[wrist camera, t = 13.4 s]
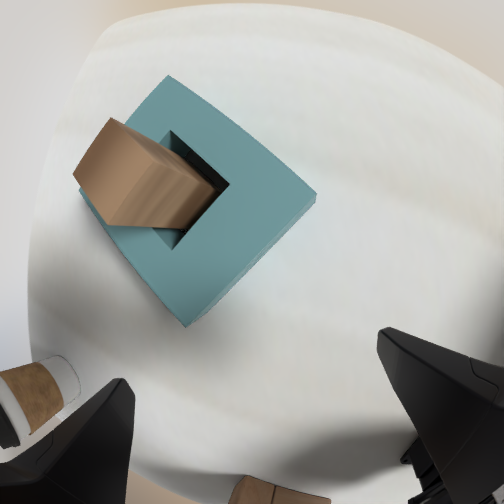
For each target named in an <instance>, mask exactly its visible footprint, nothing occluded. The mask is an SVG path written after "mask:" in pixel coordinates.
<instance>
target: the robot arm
mask: <svg viewBox="0 0 504 504" xmlns="http://www.w3.org/2000/svg"><path fill="white" fill-rule="evenodd" d="M377 353H378V356H379V358H380V360H381V362H382V365H383V367H384V369H385V371H386V374H387V376H388V378H389V381H390V383H391V385H392V387H393V389H394V391H395V393H396V394H397V396H398V398H399V400H400V401H401V403H402V405H403V407H404V408H405V410H406V412H407V414H408V415H409V417H410V419H411V421H412V423H413V424H414V426H415V428H416V430H417V432H418V433H419V435H420V436H419V438H418V439H417V440H416V441H415V443H414V444H413V445H412V446H411V447H410V449H409V450H408V451H407V452H406V453H405V454H404V456H403V457H402V458H401V459H400V461H401V463H402V464H412V466H413V469H414V472H415V475H416V478H419V481H420V484H421V487H422V490H423V492H422V493H420V494H419V495H417V496H415V497H412V498H411V499H409V500H408V504H504V367H500V366H496V365H492V364H489V363H486V362H483V361H480V360H477V359H474V358H471V357H470V358H469V357H468V356H466V355H463V354H460V353H458V352H455V351H452V350H450V349H447V348H444V347H441V346H439V345H436V344H433V343H431V342H428V341H426V340H423V339H420V338H418V337H415V336H412V335H410V334H407V333H405V332H402V331H399V330H397V329H394V328H392V327H387V328H384V329H381V330H379V332H378V339H377ZM134 413H135V394H134V392H133V391H132V389H131V388H130V386H129V384H128V383H127V381H126V380H125V379H123V378H115V379H113V380H112V381H110V382H109V383H108V384H107V385H106V386H105V387H103V388H102V389H101V390H100V391H99V392H97V393H96V394H95V395H94V396H93V397H92V398H90V399H89V400H88V401H87V402H86V403H84V404H83V405H82V406H81V407H80V408H78V409H77V410H76V411H75V412H74V413H72V414H71V415H70V416H69V417H68V418H67V419H65V420H64V421H63V422H62V423H61V424H60V425H58V426H57V427H56V428H55V429H54V430H52V431H51V432H50V433H49V434H47V435H46V436H45V437H44V438H42V439H41V440H40V441H39V442H37V443H36V444H34V445H33V446H32V447H30V448H29V449H27V450H26V451H25V452H23V453H21V454H20V455H18V456H17V457H15V458H14V459H12V460H10V461H8V462H5V463H0V504H125V497H126V485H127V477H128V468H129V460H130V453H131V446H132V439H133V431H134Z"/></svg>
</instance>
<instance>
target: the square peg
mask: <svg viewBox="0 0 504 504" xmlns="http://www.w3.org/2000/svg"><path fill="white" fill-rule="evenodd" d="M73 175H74V177H75V179H76V180H77V182H78V183H79V185H80V186H81V188H82V189H83V191H84V192H85V194H86V195H87V197H88V198H89V200H90V201H91V202H92V204H93V205H94V207H95V208H96V210H97V211H98V212H99V214H100V215H101V217H102V218H103V219H104V221H105V222H106V224H107V225H118V226H140V227H160V228H179V229H191V228H192V227H193V225H194V224H195V223H196V222H197V221H198V220H199V219H200V217H201V216H202V215H203V214H204V213H205V212H206V211H207V210H208V208H209V207H210V206H211V205H212V204H213V203H214V202H215V201H216V199H217V198H218V197H219V196H220V195H221V194H222V193H223V191H222V190H220V189H219V188H218V187H217V186H216V185H215V184H214V183H213V182H212V181H211V180H210V179H209V178H208V177H207V176H206V175H204V174H203V173H202V172H201V171H200V170H199V169H198V168H197V167H196V166H195V165H194V164H193V163H191V162H190V161H188V160H186V159H185V158H183V157H181V156H179V155H178V154H176V153H174V152H173V151H171V150H169V149H167V148H166V147H164V146H162V145H160V144H159V143H157V142H155V141H153V140H151V139H150V138H148V137H146V136H144V135H142V134H141V133H139V132H137V131H135V130H133V129H132V128H130V127H128V126H126V125H124V124H122V123H120V122H119V121H117V120H115V119H113V118H110V119H109V120H108V122H107V123H106V124H105V126H104V127H103V128H102V130H101V131H100V132H99V134H98V135H97V137H96V138H95V140H94V141H93V143H92V144H91V145H90V147H89V148H88V150H87V152H86V153H85V155H84V156H83V158H82V159H81V161H80V163H79V164H78V166H77V167H76V169H75V171H74V172H73Z"/></svg>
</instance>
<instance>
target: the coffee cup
mask: <svg viewBox="0 0 504 504" xmlns="http://www.w3.org/2000/svg"><path fill="white" fill-rule="evenodd" d="M80 391H81V388H80V383H79V380H78V377H77V375H76V373H75V371H74V370H73V368H72V367H71V365H70V364H69V363H68V362H67V361H66V360H65V359H64V358H62V357H60V356H54V357H51V358H48V359H45V360H42V361H39V362H34V363H31V364H27V365H23V366H20V367H16V368H12V369H9V370H5V371H2V372H0V446H1V447H2V448H3V449H6V448H9V447H12V446H13V447H17V446H20V441H21V440H22V439H23V438H24V437H26V436H27V435H31V434H33V433H34V432H35V431H36V430H37V429H39V428H40V427H41V426H42V425H43V424H45V423H46V422H47V421H48V420H49V419H51V418H52V417H53V416H54V415H55V414H57V413H58V412H59V411H60V410H61V409H62V408H63V407H65V406H66V405H67V404H69V403H70V402H71V401H72V400H74V399H75V398H76V397H77V396H78V395H79V394H80Z"/></svg>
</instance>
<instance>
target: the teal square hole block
mask: <svg viewBox="0 0 504 504" xmlns="http://www.w3.org/2000/svg"><path fill="white" fill-rule="evenodd" d="M124 125H126V126H128V127H130V128H132V129H133V130H135V131H137V132H139V133H141V134H142V135H144V136H146V137H148V138H150V139H151V140H153V141H155V142H157V143H159V144H160V145H162V146H164V147H166V148H167V149H169V150H171V151H173V152H174V153H176V154H178V155H179V156H181V157H183V158H184V157H185V156H186V155H187V153H188V152H189V151H190V150H191V149H193V150H194V151H195V152H196V153H197V154H198V155H199V156H200V157H201V158H203V159H204V160H205V161H206V162H207V163H208V164H209V165H210V166H211V167H212V168H213V169H215V170H216V171H217V172H218V173H219V174H220V175H221V176H222V177H223V178H224V179H225V180H226V181H227V182H228V183H230V185H229V186H228V187H227V189H226V190H225V191H224V192H223V193H222V194H221V195H220V196H219V197H218V198H217V199H216V201H215V202H214V203H213V204H212V205H211V206H210V207H209V208H208V210H207V211H206V212H205V213H204V214H203V215H202V216H201V217H200V219H199V220H198V221H197V222H196V223H195V224H194V225H193V227H192V228H191V229H190V230H189V231H188V232H187V234H186V235H184V234H183V233H182V232H181V231H180V229H179V228H160V227H140V226H118V225H107V224H106V222H105V221H104V219H103V218H102V217H101V215H100V214H99V212H98V211H97V210H96V208H95V207H94V205H93V204H92V202H91V201H90V200H89V198H88V197H87V195H86V194H85V192H84V191H83V189H82V188H81V187H80V189H79V192H80V193H81V195H82V196H83V198H84V199H85V201H86V203H87V204H88V206H89V207H90V208H91V210H92V211H93V213H94V214H95V216H96V217H97V219H98V220H99V222H100V223H101V224H102V226H103V227H104V229H105V230H106V231H107V233H108V234H109V236H110V237H111V238H112V240H113V241H114V242H115V244H116V245H117V246H118V248H119V249H120V250H121V252H122V253H123V254H124V256H125V257H126V258H127V260H128V261H129V262H130V263H131V265H132V266H133V267H134V268H135V270H136V271H137V272H138V273H139V275H140V276H141V277H142V278H143V280H144V281H145V282H146V283H147V284H148V286H149V287H150V288H151V289H152V290H153V292H154V293H155V294H156V295H157V296H158V297H159V299H160V300H161V301H162V302H163V303H164V304H165V305H166V307H167V308H168V309H169V310H170V311H171V312H172V313H173V314H174V316H175V317H176V318H177V319H178V320H179V321H180V322H181V323H182V324H183V325H184V326H185V328H186V327H187V326H189V325H190V324H192V323H193V322H195V321H196V320H197V319H199V318H200V317H202V316H203V315H204V314H206V313H207V312H208V311H209V310H210V309H211V308H212V307H213V306H214V305H215V304H216V303H217V302H218V301H219V300H220V299H221V298H222V297H223V296H224V295H225V294H226V293H227V292H228V291H229V290H230V289H231V288H232V287H233V286H234V285H235V284H236V283H237V282H238V281H239V280H240V279H241V278H242V277H243V276H244V275H245V274H246V273H247V272H248V271H249V270H250V269H251V268H252V267H253V266H254V265H255V264H256V263H257V262H258V261H259V260H260V259H261V258H262V257H263V256H264V255H265V254H266V253H267V251H268V250H269V249H270V248H271V247H272V246H273V245H274V244H275V243H276V242H277V241H278V240H279V239H280V238H281V237H282V236H283V235H284V234H285V233H286V232H287V231H288V230H289V229H290V228H291V227H292V226H293V225H294V224H295V223H296V222H297V221H298V220H299V219H300V218H301V217H302V216H303V214H304V213H305V212H306V211H307V210H308V209H309V208H310V207H311V206H312V205H313V204H314V203H315V201H316V195H317V193H316V192H315V191H314V190H313V189H312V188H311V187H309V186H308V185H307V184H306V183H305V182H304V181H303V180H302V179H301V178H300V177H299V176H298V175H296V174H295V173H294V172H293V171H292V170H291V169H290V168H289V167H287V166H286V165H285V164H284V163H283V162H282V161H281V160H279V159H278V158H277V157H276V156H275V155H274V154H272V153H271V152H270V151H269V150H268V149H267V148H265V147H264V146H263V145H262V144H261V143H259V142H258V141H257V140H256V139H255V138H253V137H252V136H251V135H250V134H248V133H247V132H246V131H245V130H243V129H242V128H241V127H240V126H238V125H237V124H236V123H235V122H233V121H232V120H231V119H229V118H228V117H227V116H225V115H224V114H223V113H222V112H220V111H219V110H218V109H216V108H215V107H213V106H212V105H211V104H209V103H208V102H207V101H205V100H204V99H203V98H201V97H200V96H198V95H197V94H196V93H194V92H193V91H191V90H190V89H188V88H187V87H185V86H184V85H183V84H181V83H180V82H178V81H177V80H175V79H174V78H172V77H171V76H169V75H167V76H166V77H165V78H164V80H163V81H162V82H161V83H160V84H159V85H158V86H157V87H156V88H155V89H154V90H153V91H152V92H151V93H150V94H149V96H148V97H147V98H146V99H145V100H144V101H143V102H142V103H141V105H140V106H139V107H138V108H137V109H136V110H135V112H134V113H133V114H132V115H131V116H130V118H129V119H128V120H127V121H126V123H125V124H124Z"/></svg>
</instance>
